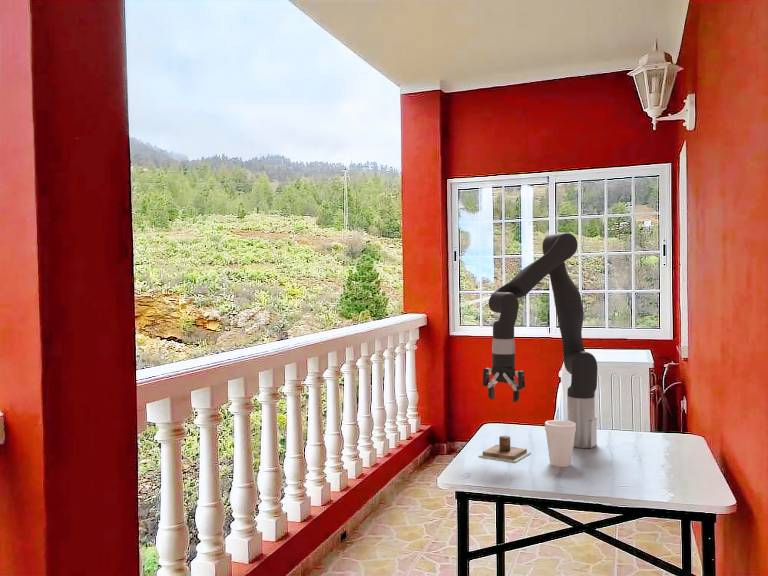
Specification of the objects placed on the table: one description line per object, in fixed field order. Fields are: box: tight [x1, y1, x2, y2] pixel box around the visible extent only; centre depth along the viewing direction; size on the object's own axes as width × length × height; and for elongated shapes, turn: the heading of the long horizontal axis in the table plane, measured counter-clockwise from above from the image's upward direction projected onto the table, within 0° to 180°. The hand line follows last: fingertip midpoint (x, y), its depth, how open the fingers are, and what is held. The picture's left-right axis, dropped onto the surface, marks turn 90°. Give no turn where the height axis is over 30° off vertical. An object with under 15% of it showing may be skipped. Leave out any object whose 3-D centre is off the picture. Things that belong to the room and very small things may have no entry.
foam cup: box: [544, 419, 576, 468], centre depth 210 cm, size 10×9×13 cm
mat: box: [478, 451, 531, 464], centre depth 221 cm, size 13×13×1 cm
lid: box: [482, 435, 528, 460], centre depth 221 cm, size 11×11×6 cm
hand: (503, 400), depth 221 cm, fingers open, 8 cm apart
